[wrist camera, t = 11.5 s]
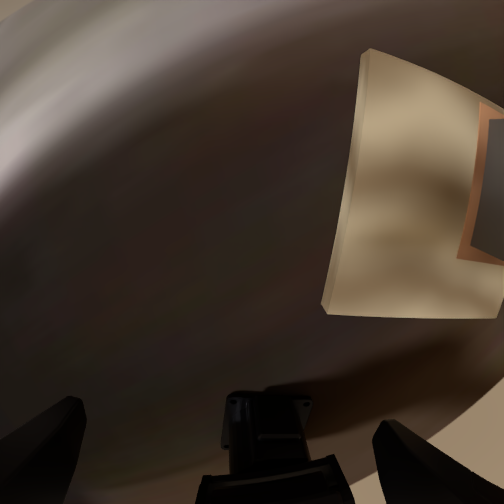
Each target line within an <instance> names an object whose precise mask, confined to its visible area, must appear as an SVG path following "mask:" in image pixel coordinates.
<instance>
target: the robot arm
mask: <svg viewBox="0 0 504 504" xmlns="http://www.w3.org/2000/svg"><path fill="white" fill-rule="evenodd" d="M233 399H234V400H235V401H232V400H233ZM305 402H307V403H305ZM312 405H313V401H312V398H311V397H309V396H270V395H249V394H229V395H228V396H227V398H226V406H225V414H224V421H223V429H222V437H221V448H222V449H224V450H229V470H230V474H228V475H218V476H212V475H203V477H202V481H201V484H200V485H199V489H198V493H197V497H196V502H195V504H355V500H354V497H353V494H352V492H351V489H350V487H349V485H348V483H347V481H346V479H345V476H344V474H343V472H342V470H341V468H340V466H339V463H338V461H337V459H336V457H335V455H334V454H332V455H328V456H326V457H325V458H321V459H317V460H313V461H311V457H310V454H309V450H308V446H307V442H306V439H305V435H304V428H305V425H306V423H307V420H308V417H309V414H310V411H311V408H312ZM86 423H87V418H86V414H85V409H84V405H83V402H82V400H81V399H80V398H77V397H73V396H67V397H66V398H64V399H62V400H61V401H59V402H58V403H56V404H55V405H53V406H52V407H50V408H48V409H47V410H45V411H44V412H42V413H41V414H39V415H37V416H36V417H34V418H33V419H31V420H30V421H28V422H26V423H25V424H23V425H22V426H20V427H18V428H17V429H15V430H14V431H12V432H10V433H9V434H7V435H6V436H4V437H2V438H1V439H0V504H63V503H64V500H65V497H66V494H67V491H68V488H69V486H70V483H71V480H72V477H73V474H74V471H75V468H76V465H77V461H78V457H79V453H80V448H81V444H82V440H83V436H84V432H85V428H86ZM372 444H373V449H374V455H375V460H376V465H377V470H378V475H379V480H380V484H381V487H382V491H383V494H384V497H385V500H386V504H504V489H502V488H500V487H498V486H496V485H495V484H492V483H491V482H489V481H487V480H485V479H484V478H482V477H480V476H479V475H477V474H476V473H474V472H471V471H470V470H469V469H468V468H466V467H465V466H463V465H462V464H460V463H458V462H457V461H455V460H454V459H452V458H451V457H449V456H448V455H446V454H445V453H443V452H442V451H440V450H439V449H437V448H436V447H434V446H433V445H431V444H430V443H428V442H427V441H426V440H424V439H423V438H421V437H420V436H418V435H417V434H415V433H414V432H412V431H411V430H410V429H408V428H407V427H405V426H404V425H402V424H401V423H400V422H398V421H397V420H395V419H388V420H383V421H382V422H381V423H380V425H379V427H378V429H377V430H376V432H375V434H374V436H373V439H372Z"/></svg>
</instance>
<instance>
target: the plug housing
mask: <svg viewBox="0 0 504 504" xmlns="http://www.w3.org/2000/svg"><path fill="white" fill-rule="evenodd" d="M470 246H472V247H474V248H477V249H479V250H481V251H483V252H485V253H487V254H489V255H491V256H494V257H496V258H498V259H500V260H502V261H504V119H489V129H488V142H487V152H486V161H485V169H484V176H483V183H482V189H481V195H480V201H479V206H478V212H477V217H476V221H475V226H474V231H473V235H472V239H471V243H470Z"/></svg>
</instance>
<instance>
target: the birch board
mask: <svg viewBox="0 0 504 504" xmlns="http://www.w3.org/2000/svg"><path fill="white" fill-rule="evenodd" d="M489 119H504V109H503V108H501V107H499V106H498V105H496V104H494V103H493V102H491V101H489V100H487V99H486V98H484V97H482V96H480V95H478V94H476V93H475V92H473V91H471V90H469V89H467V88H465V87H463V86H461V85H459V84H457V83H455V82H453V81H451V80H449V79H447V78H445V77H442V76H440V75H438V74H436V73H434V72H431V71H429V70H427V69H424V68H422V67H420V66H417V65H415V64H412V63H410V62H407V61H405V60H402V59H399V58H397V57H394V56H391V55H388V54H386V53H383V52H380V51H377V50H374V49H371V48H370V49H369V50H367V51H366V52H365V53H363V54H362V55H361V59H360V70H359V81H358V90H357V100H356V108H355V117H354V125H353V133H352V140H351V147H350V154H349V161H348V167H347V174H346V180H345V186H344V192H343V198H342V204H341V209H340V215H339V220H338V226H337V231H336V236H335V241H334V246H333V251H332V256H331V261H330V266H329V270H328V275H327V279H326V284H325V288H324V293H323V297H322V302H321V304H322V306H323V308H324V309H325V311H326V313H327V314H334V315H352V316H373V317H400V318H496V317H497V315H498V312H499V309H500V306H501V303H502V301H503V298H504V261H502V260H500V259H498V258H496V257H494V256H491V255H489V254H487V253H485V252H483V251H481V250H479V249H477V248H474V247H472V246H470V243H471V239H472V235H473V231H474V226H475V221H476V217H477V212H478V206H479V201H480V195H481V189H482V183H483V176H484V169H485V161H486V152H487V142H488V129H489Z"/></svg>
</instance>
